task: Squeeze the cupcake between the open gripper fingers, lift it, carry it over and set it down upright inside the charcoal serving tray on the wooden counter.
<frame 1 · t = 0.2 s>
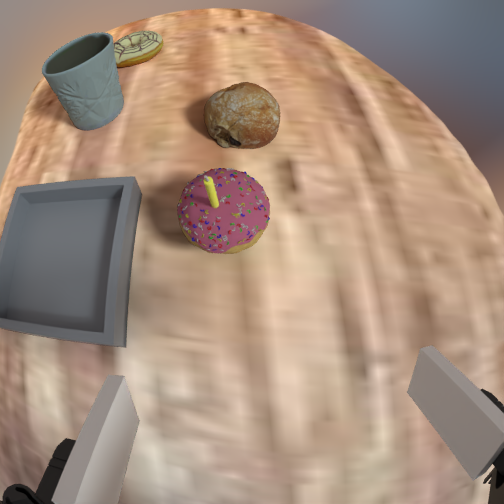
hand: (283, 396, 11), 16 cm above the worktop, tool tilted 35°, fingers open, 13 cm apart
cupcake: (223, 230, 31), on the worktop
grey cup: (97, 113, 37), on the worktop
serving tray: (64, 262, 28), on the worktop
decorated donut: (136, 56, 43), on the worktop
bread roll: (241, 124, 37), on the worktop
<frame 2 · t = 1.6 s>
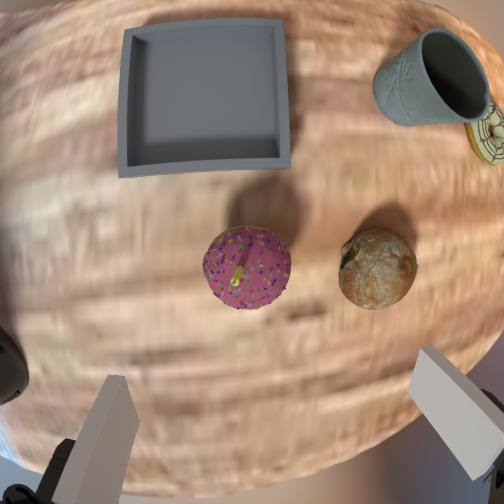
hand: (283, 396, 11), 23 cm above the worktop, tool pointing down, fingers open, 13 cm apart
cupcake: (244, 255, 33), on the worktop
grey cup: (398, 95, 30), on the worktop
serving tray: (203, 96, 28), on the worktop
decorated donut: (479, 130, 32), on the worktop
bread roll: (373, 264, 35), on the worktop
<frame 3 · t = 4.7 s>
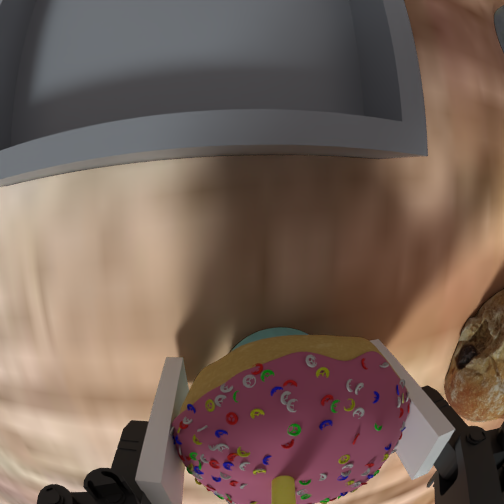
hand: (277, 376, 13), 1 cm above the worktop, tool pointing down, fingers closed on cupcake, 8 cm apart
cupcake: (277, 365, 13), on the worktop, touching gripper
bread roll: (490, 341, 15), on the worktop
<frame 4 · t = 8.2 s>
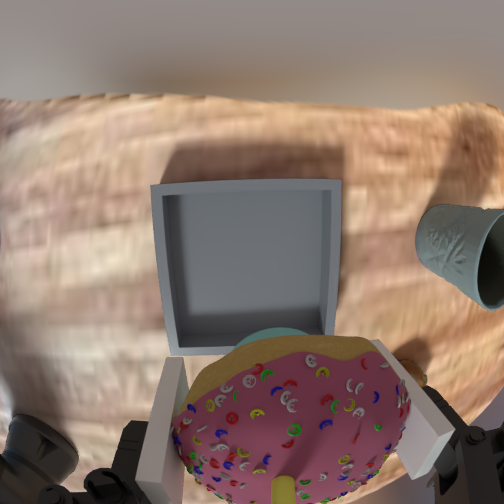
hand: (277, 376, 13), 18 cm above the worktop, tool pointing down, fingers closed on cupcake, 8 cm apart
cupcake: (277, 365, 13), point 17 cm above the worktop, touching gripper
grey cup: (437, 236, 32), on the worktop
serving tray: (247, 263, 30), on the worktop
bread roll: (390, 383, 37), on the worktop
when the fingers open (3 cm above the worktop, at t = 11.7 s): cupcake drops 1 cm, resting on serving tray.
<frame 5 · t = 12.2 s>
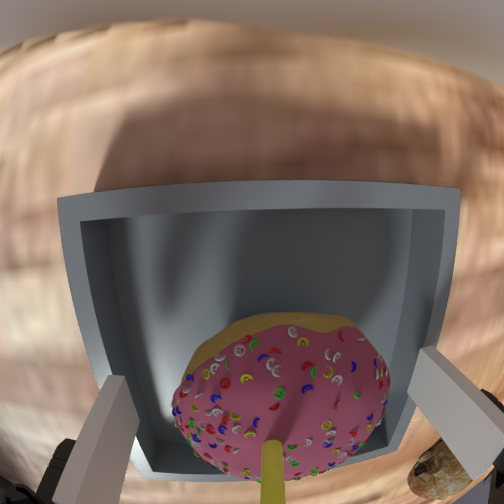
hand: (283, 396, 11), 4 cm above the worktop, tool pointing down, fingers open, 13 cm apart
cupcake: (269, 348, 15), point 1 cm above the worktop, touching serving tray
serving tray: (269, 343, 15), on the worktop
bread roll: (443, 451, 22), on the worktop
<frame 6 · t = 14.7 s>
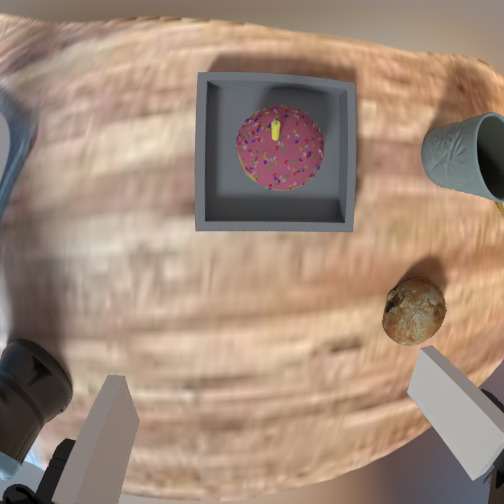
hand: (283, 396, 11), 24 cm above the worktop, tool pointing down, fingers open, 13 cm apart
cupcake: (274, 151, 32), point 1 cm above the worktop, touching serving tray
grey cup: (441, 157, 33), on the worktop
serving tray: (274, 152, 32), on the worktop
bread roll: (409, 306, 39), on the worktop
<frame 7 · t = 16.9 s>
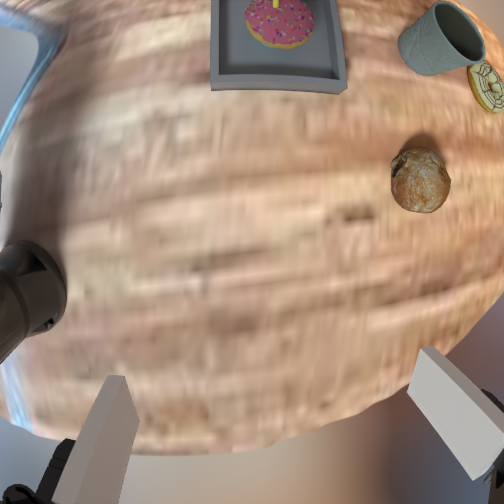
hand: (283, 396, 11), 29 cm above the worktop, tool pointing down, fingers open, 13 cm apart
cupcake: (274, 35, 32), point 1 cm above the worktop, touching serving tray
grey cup: (416, 53, 34), on the worktop
serving tray: (274, 37, 32), on the worktop
decorated donut: (481, 88, 36), on the worktop
bread roll: (414, 180, 39), on the worktop
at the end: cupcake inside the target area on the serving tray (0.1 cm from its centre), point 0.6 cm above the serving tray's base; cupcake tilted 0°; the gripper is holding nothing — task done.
